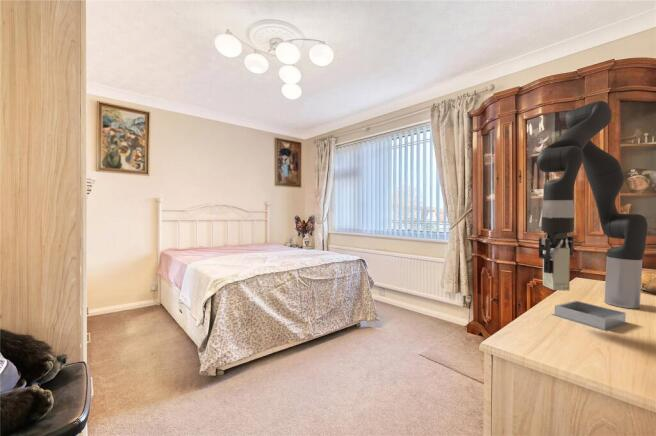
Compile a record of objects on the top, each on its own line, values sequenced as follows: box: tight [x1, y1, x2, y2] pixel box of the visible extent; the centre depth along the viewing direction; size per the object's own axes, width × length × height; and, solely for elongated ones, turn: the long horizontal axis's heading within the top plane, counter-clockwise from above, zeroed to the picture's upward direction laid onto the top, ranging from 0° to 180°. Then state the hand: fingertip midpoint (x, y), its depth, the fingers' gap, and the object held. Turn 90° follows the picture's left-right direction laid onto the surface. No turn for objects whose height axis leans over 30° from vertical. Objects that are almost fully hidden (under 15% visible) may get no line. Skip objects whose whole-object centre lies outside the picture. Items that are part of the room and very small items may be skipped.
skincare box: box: [542, 248, 571, 292], centre depth 87 cm, size 6×4×12 cm
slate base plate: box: [550, 310, 630, 332], centre depth 92 cm, size 14×14×1 cm
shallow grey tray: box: [553, 300, 627, 331], centre depth 92 cm, size 13×13×3 cm
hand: (555, 271), depth 87 cm, fingers closed on skincare box, 7 cm apart
